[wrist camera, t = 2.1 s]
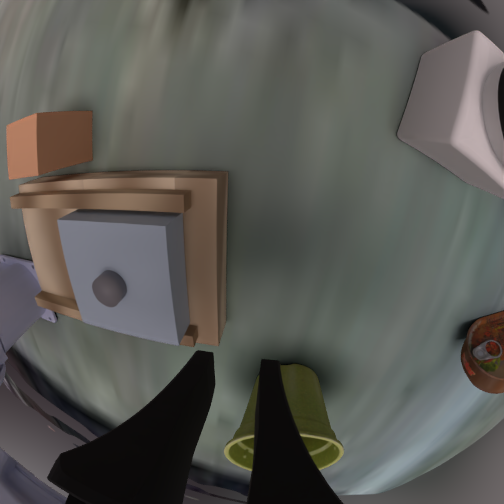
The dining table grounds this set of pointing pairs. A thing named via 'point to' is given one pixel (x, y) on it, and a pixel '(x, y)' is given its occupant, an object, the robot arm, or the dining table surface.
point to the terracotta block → (48, 142)
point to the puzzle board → (137, 199)
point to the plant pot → (305, 416)
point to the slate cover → (128, 271)
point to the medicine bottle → (460, 110)
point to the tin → (485, 353)
